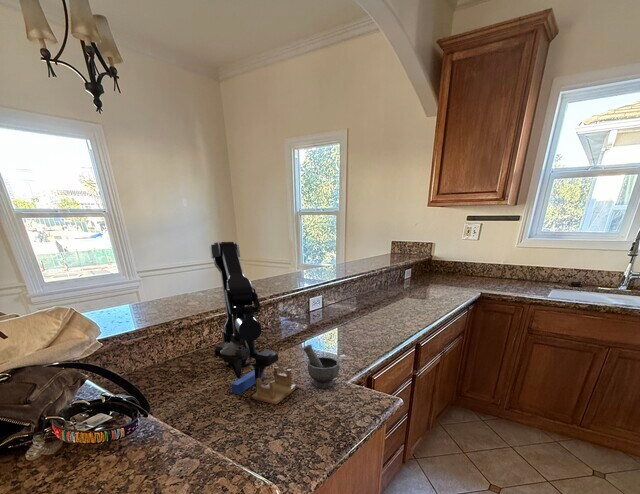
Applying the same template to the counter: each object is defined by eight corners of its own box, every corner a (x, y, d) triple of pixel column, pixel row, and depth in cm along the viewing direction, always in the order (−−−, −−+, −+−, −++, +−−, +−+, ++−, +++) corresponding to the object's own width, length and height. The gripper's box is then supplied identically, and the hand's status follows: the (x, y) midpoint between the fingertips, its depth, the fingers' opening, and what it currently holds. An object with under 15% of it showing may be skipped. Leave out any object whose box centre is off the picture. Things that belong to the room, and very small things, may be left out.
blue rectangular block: (257, 376, 112) (257, 367, 111) (264, 377, 111) (263, 369, 110) (231, 393, 101) (230, 383, 100) (238, 394, 101) (237, 385, 99)
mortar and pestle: (342, 379, 111) (343, 343, 106) (334, 392, 103) (335, 353, 98) (308, 374, 114) (308, 339, 108) (298, 386, 106) (297, 349, 100)
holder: (274, 382, 108) (273, 364, 105) (297, 387, 105) (296, 369, 102) (251, 398, 99) (250, 379, 96) (276, 404, 96) (275, 384, 93)
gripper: (197, 333, 96) (205, 384, 103) (254, 343, 89) (258, 398, 96) (224, 323, 105) (229, 371, 112) (278, 331, 98) (280, 382, 105)
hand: (248, 380), depth 106 cm, fingers open, 6 cm apart
